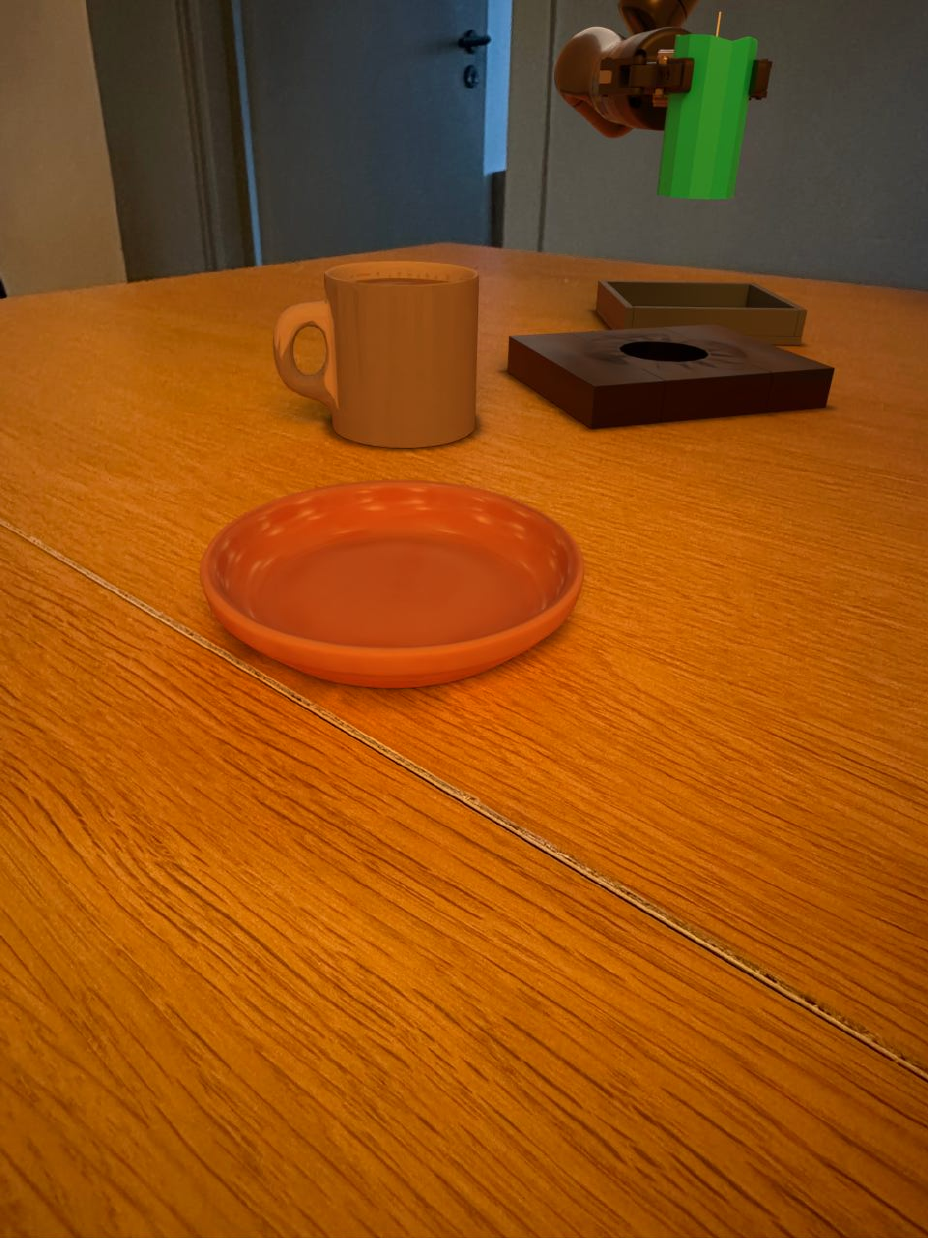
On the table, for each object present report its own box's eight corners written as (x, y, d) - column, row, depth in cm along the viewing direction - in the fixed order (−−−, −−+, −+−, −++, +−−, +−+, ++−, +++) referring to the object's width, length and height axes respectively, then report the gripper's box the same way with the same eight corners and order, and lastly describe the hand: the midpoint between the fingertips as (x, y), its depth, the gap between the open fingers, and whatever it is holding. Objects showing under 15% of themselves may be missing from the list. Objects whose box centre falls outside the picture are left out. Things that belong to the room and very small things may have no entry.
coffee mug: (469, 403, 65) (472, 261, 60) (481, 447, 57) (485, 285, 52) (289, 403, 64) (277, 259, 59) (273, 448, 56) (258, 284, 51)
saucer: (616, 711, 32) (626, 641, 30) (172, 725, 31) (158, 653, 29) (546, 530, 46) (550, 476, 44) (237, 534, 44) (231, 479, 43)
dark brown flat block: (709, 357, 79) (715, 324, 78) (826, 407, 66) (835, 367, 65) (507, 371, 74) (508, 335, 72) (590, 429, 60) (595, 386, 59)
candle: (649, 196, 67) (671, 8, 61) (663, 190, 72) (685, 15, 66) (728, 200, 66) (759, 7, 59) (737, 194, 70) (766, 14, 64)
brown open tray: (749, 313, 98) (754, 282, 96) (800, 345, 85) (808, 309, 83) (595, 311, 97) (598, 280, 96) (622, 342, 84) (626, 307, 82)
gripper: (576, 27, 74) (635, 9, 60) (736, 32, 76) (830, 16, 61) (569, 127, 78) (623, 133, 64) (721, 130, 80) (807, 137, 65)
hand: (724, 76), depth 63 cm, fingers closed on candle, 5 cm apart
